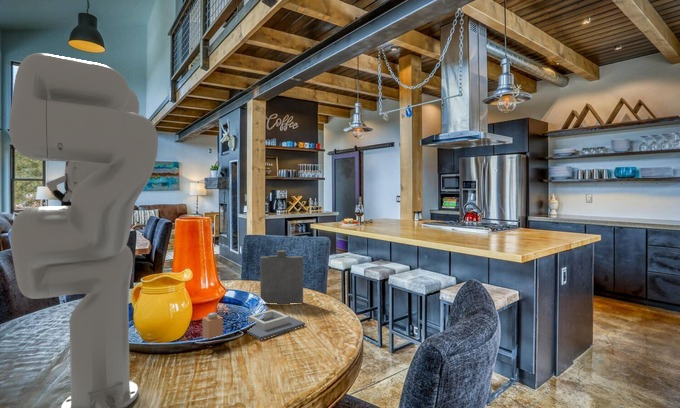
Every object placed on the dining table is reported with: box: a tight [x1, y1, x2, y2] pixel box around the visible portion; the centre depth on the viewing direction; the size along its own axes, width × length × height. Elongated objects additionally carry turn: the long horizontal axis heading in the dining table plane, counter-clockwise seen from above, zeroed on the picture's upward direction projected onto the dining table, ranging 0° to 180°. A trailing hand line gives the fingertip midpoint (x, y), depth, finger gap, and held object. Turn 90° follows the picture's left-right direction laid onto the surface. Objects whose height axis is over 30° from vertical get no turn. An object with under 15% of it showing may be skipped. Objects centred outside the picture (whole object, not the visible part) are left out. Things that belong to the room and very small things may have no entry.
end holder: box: [246, 309, 306, 341], centre depth 110 cm, size 16×16×3 cm
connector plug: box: [201, 312, 224, 348], centre depth 97 cm, size 4×4×8 cm
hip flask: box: [259, 249, 304, 304], centre depth 132 cm, size 16×4×20 cm, turn 92°
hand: (91, 217), depth 87 cm, fingers open, 9 cm apart
